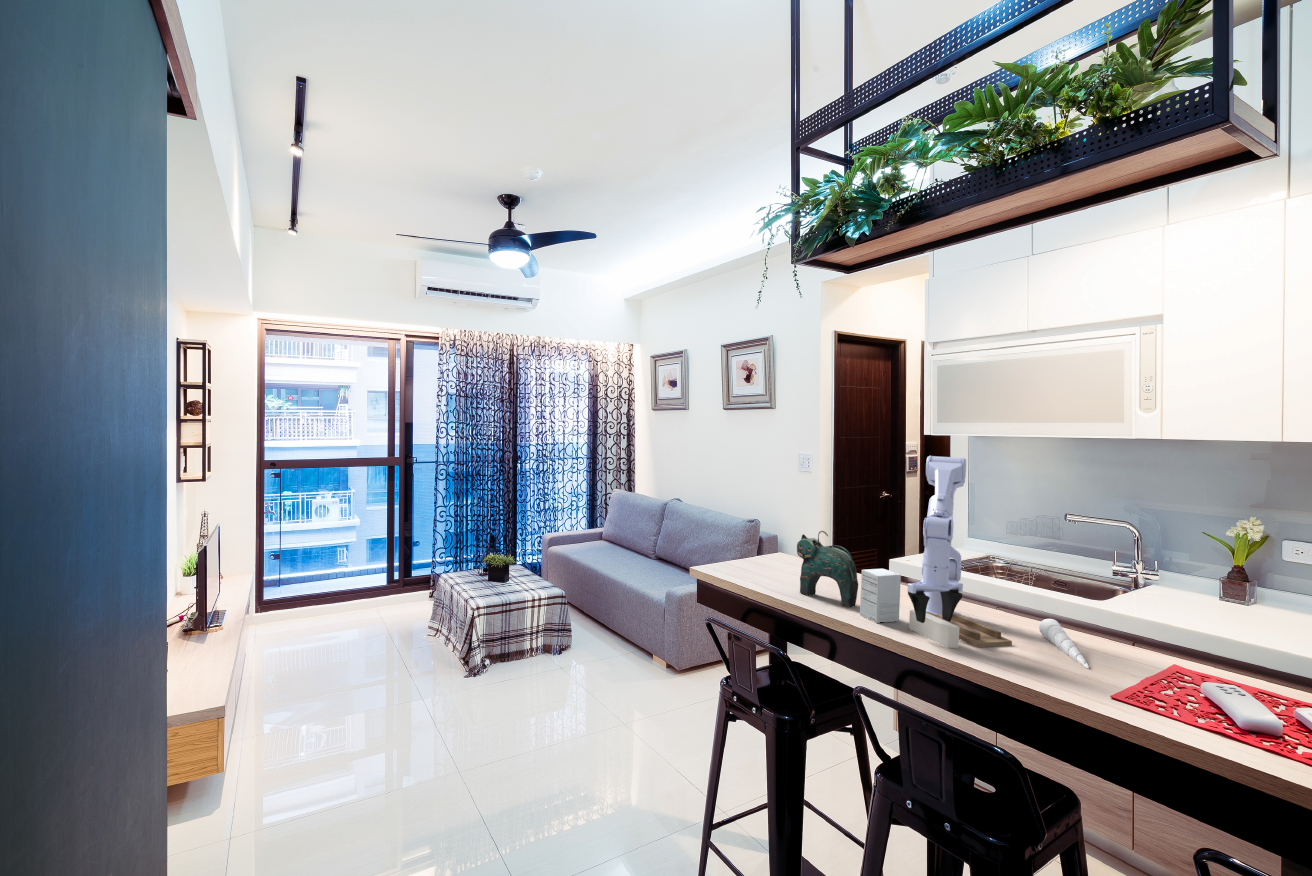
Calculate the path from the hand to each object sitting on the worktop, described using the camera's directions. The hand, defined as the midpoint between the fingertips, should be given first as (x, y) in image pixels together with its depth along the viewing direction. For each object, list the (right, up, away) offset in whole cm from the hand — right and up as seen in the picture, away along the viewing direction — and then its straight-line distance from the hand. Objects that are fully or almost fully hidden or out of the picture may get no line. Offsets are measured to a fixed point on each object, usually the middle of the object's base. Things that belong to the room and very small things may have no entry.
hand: (933, 620), depth 157 cm
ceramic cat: (-18, -3, +32) cm, 37 cm away
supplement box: (-8, -4, +14) cm, 17 cm away
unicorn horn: (+29, -6, -5) cm, 30 cm away
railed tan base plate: (+10, -4, +6) cm, 12 cm away
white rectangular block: (0, -4, 0) cm, 4 cm away
